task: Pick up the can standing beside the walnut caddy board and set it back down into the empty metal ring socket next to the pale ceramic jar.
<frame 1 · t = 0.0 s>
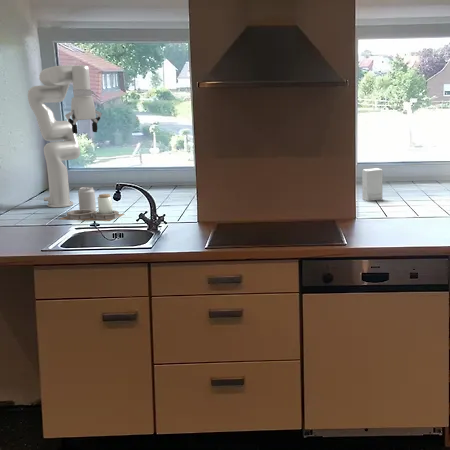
hand: (85, 132, 299), 37 cm above the countertop, tool pointing down, fingers open, 9 cm apart
skincare box: (372, 200, 321), on the countertop
stand: (91, 219, 295), on the countertop
jar: (106, 217, 292), point 1 cm above the countertop, touching stand
can: (88, 213, 310), on the countertop
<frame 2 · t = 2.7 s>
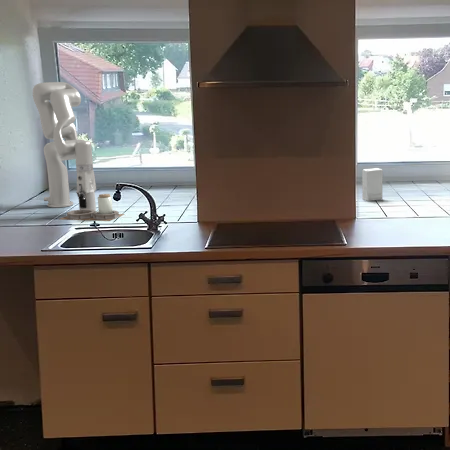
hand: (87, 205, 309), 3 cm above the countertop, tool pointing down, fingers closed on can, 7 cm apart
can: (88, 213, 310), on the countertop, touching gripper
everything else where it was.
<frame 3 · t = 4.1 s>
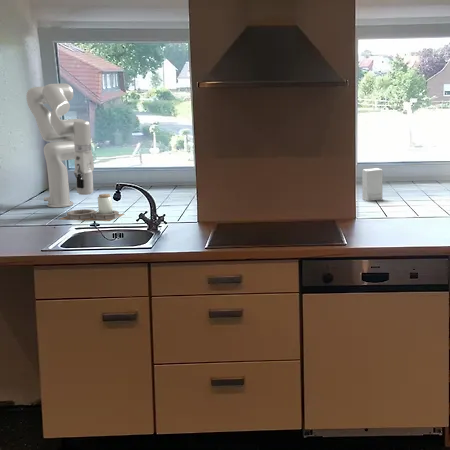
hand: (84, 186, 308), 13 cm above the countertop, tool pointing down, fingers closed on can, 7 cm apart
can: (85, 193, 309), point 9 cm above the countertop, touching gripper
everything else where it was.
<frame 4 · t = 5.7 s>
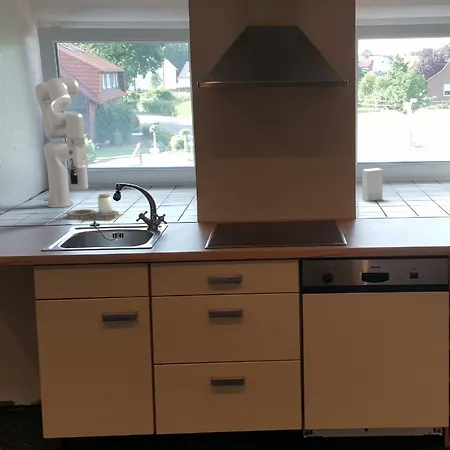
hand: (79, 182, 293), 16 cm above the countertop, tool pointing down, fingers closed on can, 7 cm apart
can: (79, 190, 294), point 13 cm above the countertop, touching gripper
everything else where it was.
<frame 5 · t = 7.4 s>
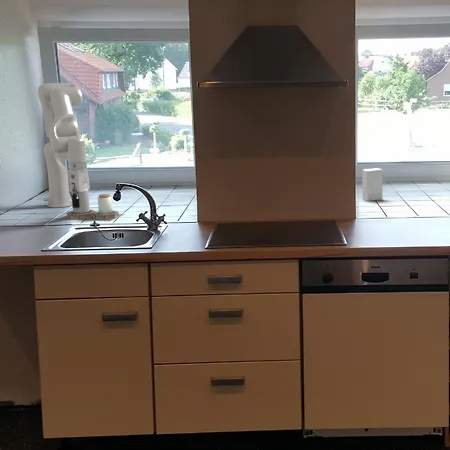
hand: (80, 205, 295), 6 cm above the countertop, tool pointing down, fingers closed on can, 7 cm apart
can: (81, 213, 296), point 2 cm above the countertop, touching gripper
everything else where it was.
when the fingers open (6 cm above the countertop, at t = 8.5 s): can drops 1 cm, resting on stand.
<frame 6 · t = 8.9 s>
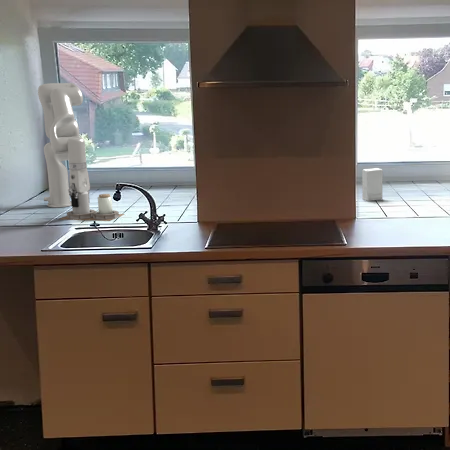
hand: (80, 205, 295), 6 cm above the countertop, tool pointing down, fingers open, 9 cm apart
can: (81, 216, 296), point 1 cm above the countertop, touching stand
everything else where it was.
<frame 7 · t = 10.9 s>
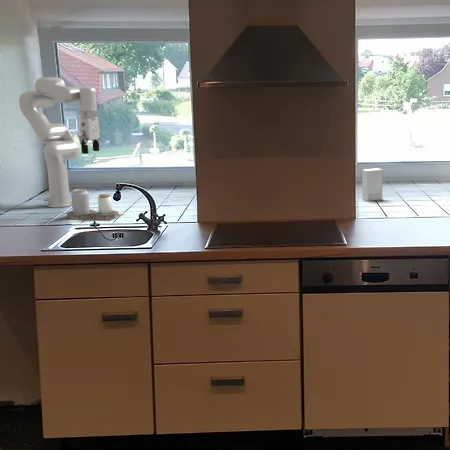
hand: (90, 152, 308), 28 cm above the countertop, tool pointing down, fingers open, 9 cm apart
nothing on the countertop moved.
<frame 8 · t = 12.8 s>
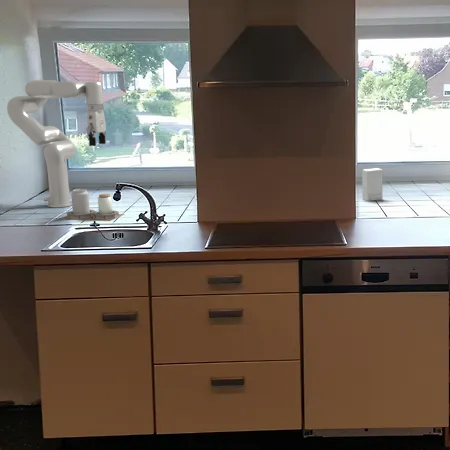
hand: (97, 144, 316), 30 cm above the countertop, tool pointing down, fingers open, 9 cm apart
nothing on the countertop moved.
at the end: can 0.3 cm from the target spot on the stand, point 1.0 cm above the stand's base; can tilted 0°; the gripper is holding nothing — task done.
